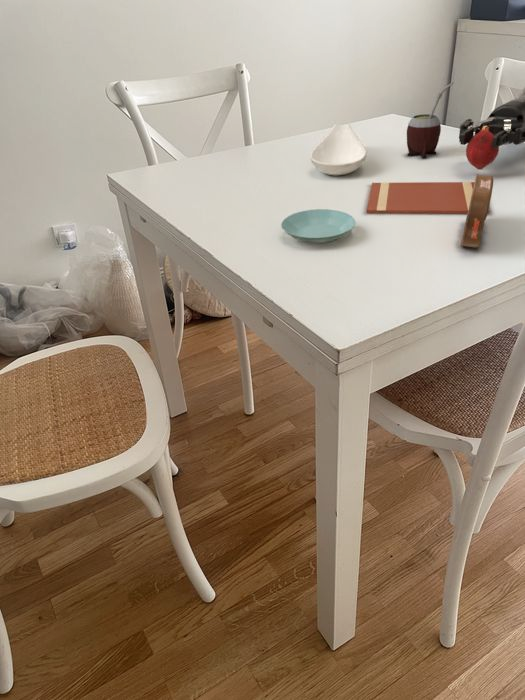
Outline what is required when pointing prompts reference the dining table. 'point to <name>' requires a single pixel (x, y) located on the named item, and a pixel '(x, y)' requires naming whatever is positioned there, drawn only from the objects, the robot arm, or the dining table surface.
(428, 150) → the mate gourd
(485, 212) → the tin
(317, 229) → the saucer
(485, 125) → the robot arm
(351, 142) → the spoon rest
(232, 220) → the dining table surface
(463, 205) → the towel
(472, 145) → the red pomegranate
